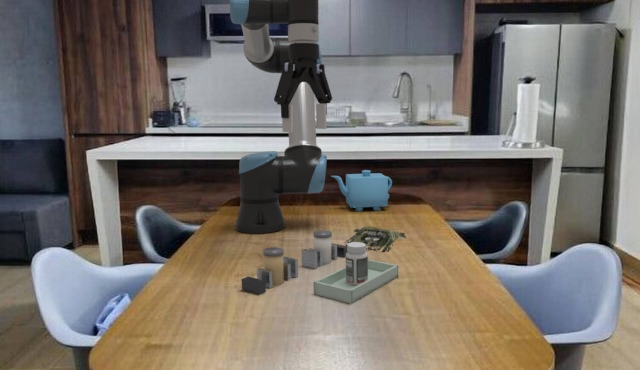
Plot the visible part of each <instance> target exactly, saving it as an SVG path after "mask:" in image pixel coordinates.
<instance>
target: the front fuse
mask: <svg viewBox="0 0 640 370" xmlns="http://www.w3.org/2000/svg"><path fill="white" fill-rule="evenodd" d="M262 254H263V265H264V266H263V267H264V268H263V269H266V270H270V271H272V284H273V287H274V286H280V285H283V284H284V282H285V279H284V266H283V257H284V254H285V250H284V248H282V247H279V246H278V247H276V246H275V247H266V248H264V249H263V250H262Z"/></svg>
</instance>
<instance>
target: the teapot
mask: <svg viewBox="0 0 640 370" xmlns="http://www.w3.org/2000/svg"><path fill="white" fill-rule="evenodd" d="M371 172H372V171H371V170H368V169H364V170H361V173H346V174H345V184H344V182H343V180H342V177H341V176H339V175H330V177H331V178H334V179H335V180H336V181H337V183H338V186H339V189H340V192H341V194H342V195H343V196H344V197H345V201H346V203H347V205H348V206H349V207H350V209H351V208H353V209H354V208H355V209H354V212H356V211H357V213H360V211H361V212H363V210H364V208H372V209H373V211H374V212H380V211H382V209H381V207H383V208H384V207H388V202H389V199H390V194H389V190H390V189H391V187H392V185H393V180H392V179H391V178H390V176H387V175H384V174H383V173H379V172H378V173H371Z"/></svg>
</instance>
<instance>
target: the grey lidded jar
mask: <svg viewBox="0 0 640 370" xmlns="http://www.w3.org/2000/svg"><path fill="white" fill-rule="evenodd" d="M312 234H313V240H314V241H313V247H314V248H313V249H316V250H320V251H322V259H323V265H328V264H330V263H332V260H333V259H331V244H332V236H333V233H332V231H330V230H326V229H325V230H315V231H314V232H313V233H312Z"/></svg>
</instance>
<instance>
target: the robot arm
mask: <svg viewBox="0 0 640 370" xmlns="http://www.w3.org/2000/svg"><path fill="white" fill-rule="evenodd" d="M229 15H230V21H231V23H233V24H235V25H240V26H241V29H242V33H243V34H242V35H243V39H244V43H243V49H242V50H243V53H244V57H245V58H246V60H247V61H248V62H249V64H251V65H252V66H253V67H254V68H256V69H258V70H260V71H263V72H266V73H270V74H280V78H279V81H278V85H277V87H276V91H275V93H274V97H273V99H274V103H276V105H280V118H281V119H282V120H281V121H282V124H281V125H282V133H288V146H287V147H286V148H285V149H284V152H283V153H284V154H283V155H279V153H278V152H277V151H276V150H275V151H274V150H273V151H271V150H270V151H262V152H255V153H251V154H247V155H244V156H242V157H241V158H240V159H239V165H238V167H239V170H238V174H239V195H240V197H239V198H240V205H239V209H238V213H237V218H236V219H235V230H236V231H237V232H241V233H245V234H269V233H275V232H279V231H282V230H283V229H285V227H286V221H285V218H284V216H283V212H282V209H281V207H280V202H279V195H288V194H289V195H293V194H297V195H298V194H303V195H304V194H308V195H310V194H319V193H321V192H322V191H323V190H324V189H325V188H324V187H325V181H326V171H327V161H328V159H327V155H326V154H322V152H323V151H322V148H321V147H320V146H319V145H317V131H316V130H317V129H319V130H320V129H321V130H326V129H327V115H328V109H327V108H328V106H327V105H328V104H330V103H331V101H333V96H332V92H331V89H330V85H329V83H328V80H327V79H328V78H327V75H326V71H325V64H323V63H322V54H321V48H320V45H319V44H320V43H319V40H320V36H319V33H320V32H319V0H229ZM276 24H277V25H280V24H281V25H287V37H285V36H283V37H282V36H281V37H279V36H277V37H276V36H274V37H273V36H272V37H270V27H269V25H276ZM315 99H316V100H317V102H318V103H315Z"/></svg>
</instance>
